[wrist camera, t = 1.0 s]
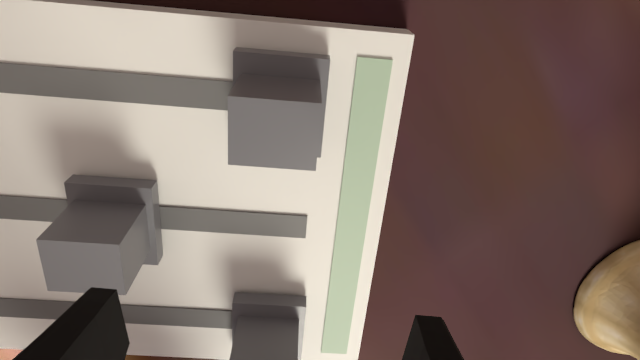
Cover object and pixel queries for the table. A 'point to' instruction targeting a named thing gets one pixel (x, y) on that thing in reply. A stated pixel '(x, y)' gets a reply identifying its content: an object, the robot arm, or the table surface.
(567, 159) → the table surface
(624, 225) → the table surface
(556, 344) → the table surface
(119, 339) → the robot arm
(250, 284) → the switch board
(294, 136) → the knob
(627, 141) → the table surface
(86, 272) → the knob
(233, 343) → the knob
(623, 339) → the hand bell
